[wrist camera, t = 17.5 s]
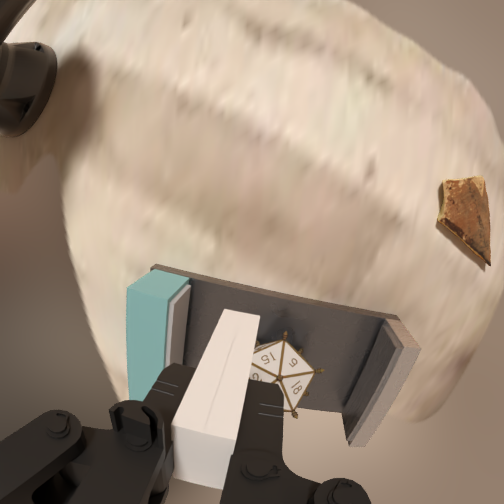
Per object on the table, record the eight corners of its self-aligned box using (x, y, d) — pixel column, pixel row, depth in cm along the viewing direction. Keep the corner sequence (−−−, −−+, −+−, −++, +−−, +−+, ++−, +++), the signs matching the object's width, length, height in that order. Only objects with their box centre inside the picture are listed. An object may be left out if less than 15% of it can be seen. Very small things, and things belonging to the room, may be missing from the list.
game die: (293, 343, 34) (334, 410, 27) (228, 372, 32) (261, 445, 25) (287, 297, 28) (343, 380, 21) (206, 332, 27) (244, 427, 19)
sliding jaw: (154, 268, 30) (127, 287, 24) (193, 278, 29) (172, 300, 23) (149, 371, 33) (129, 400, 27) (182, 382, 33) (166, 413, 27)
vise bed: (156, 263, 31) (122, 285, 24) (396, 315, 29) (421, 348, 22) (150, 363, 35) (126, 398, 27) (354, 406, 33) (364, 447, 26)
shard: (484, 263, 27) (492, 267, 25) (437, 276, 28) (444, 281, 27) (478, 174, 25) (487, 174, 23) (429, 181, 26) (437, 181, 24)
